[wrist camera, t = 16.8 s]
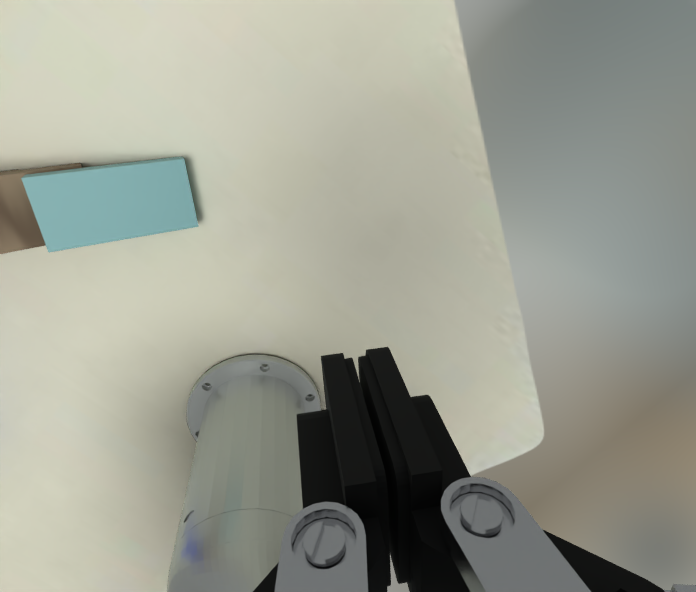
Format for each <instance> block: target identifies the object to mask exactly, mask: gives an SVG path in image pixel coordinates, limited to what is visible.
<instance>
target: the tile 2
mask: <svg viewBox="0 0 696 592" xmlns="http://www.w3.org/2000/svg"><path fill="white" fill-rule="evenodd" d="M78 168H82V166H81V164H80V163H75V164H67V165H59V166H52V167H44V168H36V169H28V170H20V171H12V172H4V173H0V254H3V253H8V252H13V251H18V250H24V249H29V248H34V247H39V246H44V245H46V244H45V241H44V238H43V236H42V233H41V230H40V228H39V225H38V222H37V220H36V217H35V214H34V211H33V209H32V206H31V203H30V201H29V198H28V195H27V193H26V190H25V187H24V184H23V182H22V179H21V178H22V177H23V176H25V175H26V174H35V173H44V172H52V171H61V170H69V169H78Z"/></svg>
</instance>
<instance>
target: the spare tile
mask: <svg viewBox="0 0 696 592" xmlns="http://www.w3.org/2000/svg"><path fill="white" fill-rule="evenodd" d="M21 179H22V182H23V184H24V187H25V190H26V193H27V195H28V198H29V201H30V203H31V206H32V209H33V211H34V214H35V217H36V220H37V222H38V225H39V228H40V230H41V233H42V236H43V238H44V241H45V244H46V247H47V249H48V252H54V251H60V250H65V249H71V248H77V247H83V246H89V245H94V244H100V243H106V242H112V241H118V240H123V239H129V238H135V237H141V236H147V235H152V234H158V233H164V232H170V231H176V230H181V229H187V228H193V227H199V226H198V222H197V217H196V212H195V208H194V203H193V198H192V193H191V189H190V184H189V179H188V175H187V170H186V165H185V160H184V158H183V157H182V156H181V157H173V158H164V159H155V160H147V161H138V162H130V163H121V164H112V165H104V166H95V167H87V168H78V169H69V170H61V171H52V172H44V173H35V174H26V175H25V176H23V177H22V178H21Z"/></svg>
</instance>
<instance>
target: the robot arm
mask: <svg viewBox="0 0 696 592" xmlns="http://www.w3.org/2000/svg"><path fill="white" fill-rule="evenodd" d="M321 362H322V372H323V381H324V391H325V400H326V410H321V407H320V399H319V394H318V391H317V389H316V386H315V384H314V382H313V381H312V380H311V379H310V377H309V376H308V375H307V374H306V373H305V372H304V371H303V370H302V369H300V368H299V367H298V366H296V365H294V364H292V363H291V362H289V361H286V360H283V359H281V358H278V357H273V356H267V355H245V356H239V357H235V358H231V359H228V360H225V361H223V362H221V363H219V364H217V365H215V366H214V367H212V368H211V369H210V370H208V371H207V372H206V373H204V374H203V375H202V377H201V378H200V379H199V380H198V381H197V382H196V384H195V386H194V388H193V389H192V391H191V393H190V397H189V400H188V404H187V411H186V417H187V424H188V427H189V430H190V432H191V434H192V436H193V437H194V439H195V440H196V442H197V445H196V449H195V454H194V458H193V463H192V468H191V472H190V477H189V482H188V486H187V491H186V496H185V500H184V505H183V509H182V514H181V519H180V523H179V528H178V533H177V537H176V542H175V546H174V551H173V555H172V560H171V565H170V570H169V576H168V584H167V592H387V586H390V585H391V574H390V554H391V558H392V562H393V566H394V570H395V574H396V578H397V581H398V583H399V584H400V583H405V582H407V584H408V587H409V591H410V592H696V585H677V584H673V586H672V588H671V590H663V589H661V588H660V587H658V586H656V585H655V584H653V583H651V582H650V581H648V580H646V579H644V578H642V577H640V576H638V575H636V574H634V573H632V572H630V571H628V570H626V569H624V568H621V567H619V566H617V565H615V564H613V563H611V562H609V561H607V560H605V559H603V558H601V557H599V556H597V555H594V554H592V553H590V552H588V551H586V550H584V549H582V548H580V547H578V546H576V545H573V544H572V543H569V542H567V541H565V540H563V539H561V538H559V537H556V536H555V535H553V534H551V533H549V532H546V531H545V530H542V529H541V528H540V526H539V525H538V524H537V522H536V521H535V520H534V519H533V517H532V516H531V515H530V514H529V512H528V511H527V510H526V509H525V507H524V506H523V505H522V504H521V502H520V501H519V500H518V498H517V497H516V496H515V495H514V494H513V493H512V492H511V491H510V490H509V489H508V488H506V487H504V486H502V485H501V484H499V483H498V482H496V481H492V480H489V479H486V478H480V477H471V476H470V474H469V472H468V470H467V468H466V466H465V464H464V462H463V460H462V458H461V456H460V454H459V452H458V450H457V448H456V446H455V444H454V442H453V441H452V439H451V437H450V435H449V433H448V431H447V429H446V427H445V425H444V423H443V421H442V419H441V417H440V415H439V413H438V411H437V409H436V407H435V405H434V403H433V401H432V399H431V398H430V396H428V395H422V396H415V397H410V395H409V392H408V390H407V388H406V386H405V383H404V381H403V379H402V377H401V374H400V372H399V370H398V368H397V365H396V363H395V361H394V358H393V356H392V354H391V352H390V349H389V348H388V347H384V348H377V349H369V350H366V356H361V357H359V358H358V363H359V379H358V376H357V372H356V369H355V365H354V362H353V359H352V358H346V359H344V355H343V353H340V354H332V355H325V356H321ZM359 380H360V383H359Z"/></svg>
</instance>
